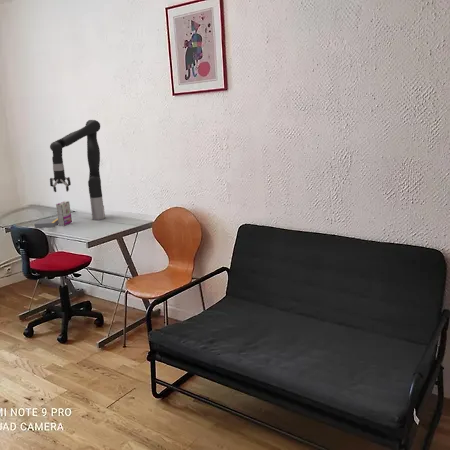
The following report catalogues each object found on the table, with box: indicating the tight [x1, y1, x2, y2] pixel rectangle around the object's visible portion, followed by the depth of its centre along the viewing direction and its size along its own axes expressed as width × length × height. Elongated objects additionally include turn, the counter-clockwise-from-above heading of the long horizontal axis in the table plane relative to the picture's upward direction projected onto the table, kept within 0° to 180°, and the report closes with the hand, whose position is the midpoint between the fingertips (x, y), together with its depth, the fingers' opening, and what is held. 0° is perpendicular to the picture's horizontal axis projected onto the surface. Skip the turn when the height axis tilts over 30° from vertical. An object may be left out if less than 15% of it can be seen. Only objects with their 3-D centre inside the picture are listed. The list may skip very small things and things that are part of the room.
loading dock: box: [33, 217, 59, 229], centre depth 347 cm, size 14×16×3 cm
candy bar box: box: [55, 200, 73, 227], centre depth 346 cm, size 11×5×16 cm, turn 168°
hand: (61, 191), depth 342 cm, fingers open, 8 cm apart
